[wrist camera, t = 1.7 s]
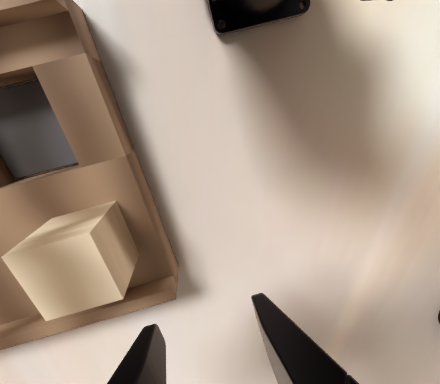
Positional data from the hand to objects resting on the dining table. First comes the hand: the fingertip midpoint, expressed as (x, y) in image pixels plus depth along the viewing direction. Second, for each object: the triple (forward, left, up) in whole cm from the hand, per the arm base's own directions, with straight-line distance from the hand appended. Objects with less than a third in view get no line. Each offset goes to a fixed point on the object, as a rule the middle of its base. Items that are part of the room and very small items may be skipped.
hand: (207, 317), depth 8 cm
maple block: (+8, 0, -10) cm, 12 cm away
